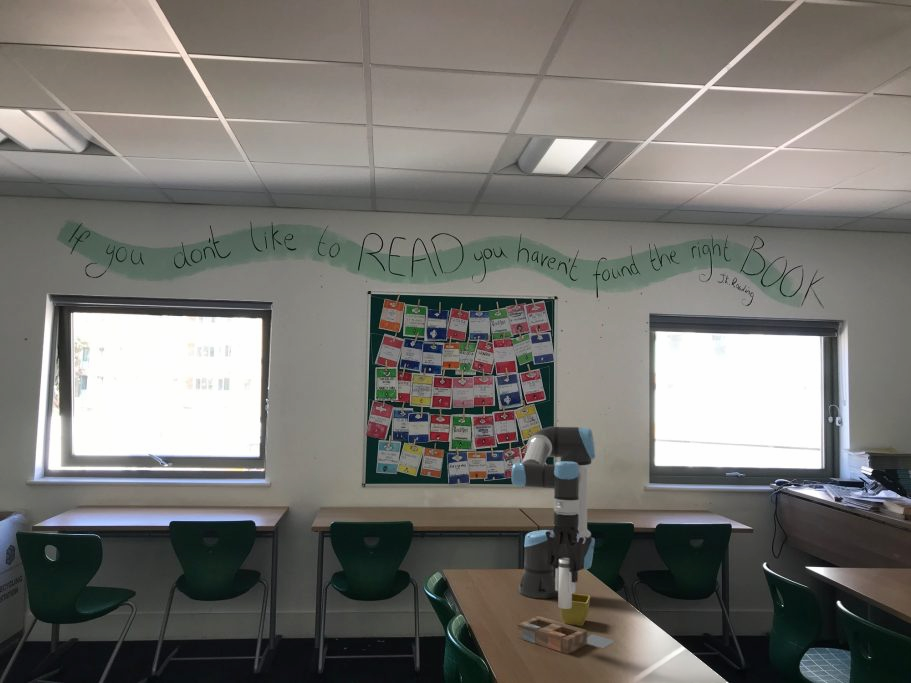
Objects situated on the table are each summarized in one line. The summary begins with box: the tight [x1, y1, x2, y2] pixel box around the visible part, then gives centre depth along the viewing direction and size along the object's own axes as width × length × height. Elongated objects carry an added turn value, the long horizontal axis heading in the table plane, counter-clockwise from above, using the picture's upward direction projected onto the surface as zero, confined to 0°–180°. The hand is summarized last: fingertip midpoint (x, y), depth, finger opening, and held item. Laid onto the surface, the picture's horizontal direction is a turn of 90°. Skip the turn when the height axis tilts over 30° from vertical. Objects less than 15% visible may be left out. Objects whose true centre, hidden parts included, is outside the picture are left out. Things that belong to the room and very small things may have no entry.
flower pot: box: [560, 593, 591, 627], centre depth 218 cm, size 9×9×9 cm
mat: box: [587, 634, 616, 649], centre depth 200 cm, size 8×8×1 cm
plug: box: [557, 558, 572, 609], centre depth 198 cm, size 4×4×14 cm
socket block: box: [517, 615, 588, 655], centre depth 200 cm, size 11×18×5 cm, turn 48°
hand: (565, 591), depth 198 cm, fingers closed on plug, 4 cm apart
